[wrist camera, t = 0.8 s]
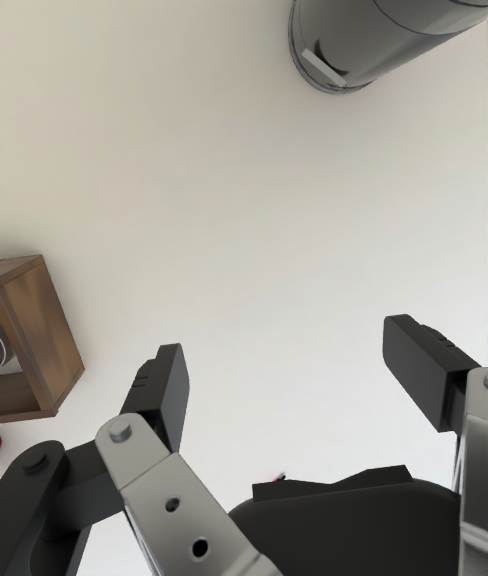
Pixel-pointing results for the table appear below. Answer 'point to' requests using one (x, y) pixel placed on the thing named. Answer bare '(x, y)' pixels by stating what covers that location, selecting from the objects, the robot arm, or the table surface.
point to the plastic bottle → (5, 348)
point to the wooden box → (35, 342)
